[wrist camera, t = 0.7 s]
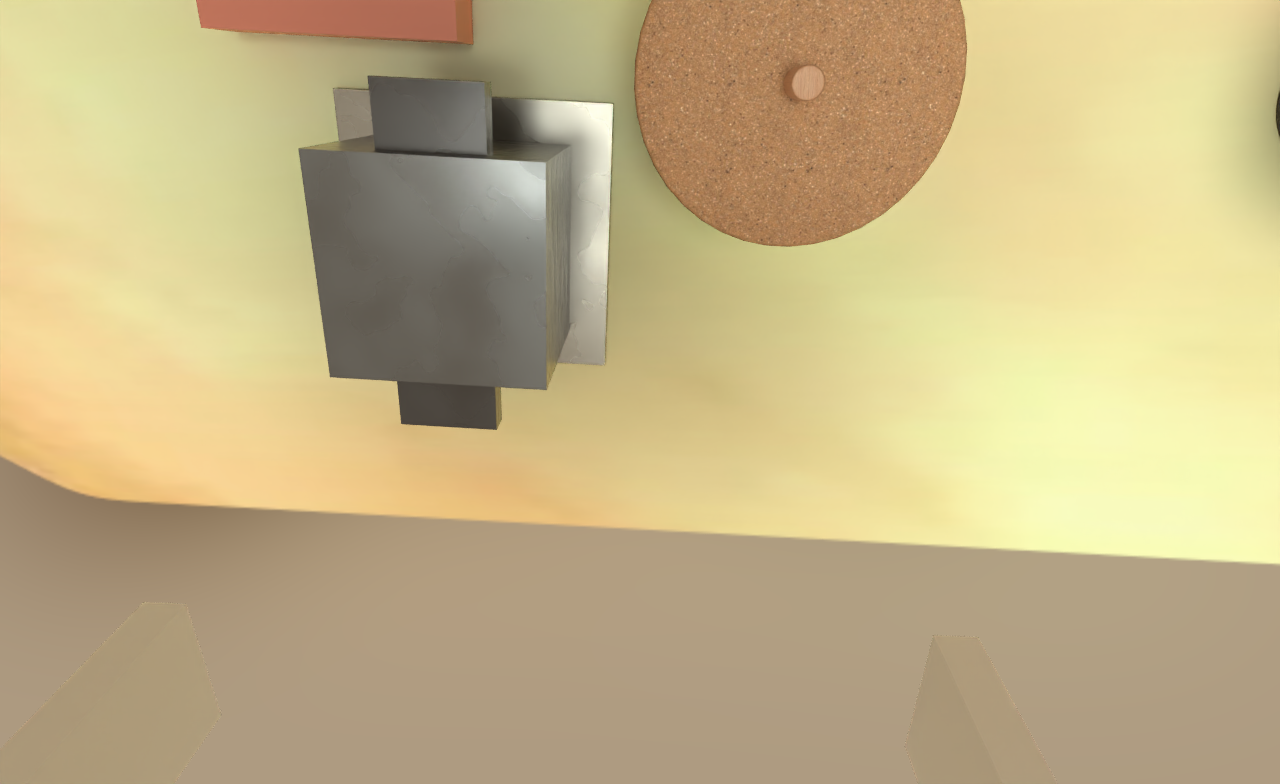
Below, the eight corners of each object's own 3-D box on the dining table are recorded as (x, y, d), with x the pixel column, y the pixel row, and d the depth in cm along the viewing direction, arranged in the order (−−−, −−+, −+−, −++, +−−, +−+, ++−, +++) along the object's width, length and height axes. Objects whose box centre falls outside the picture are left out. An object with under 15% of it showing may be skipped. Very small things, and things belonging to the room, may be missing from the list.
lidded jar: (645, 214, 32) (638, 262, 24) (636, -60, 28) (623, -122, 19) (882, 207, 32) (962, 253, 23) (910, -73, 28) (1021, -143, 19)
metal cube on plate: (335, 71, 30) (235, 68, 23) (614, 87, 30) (598, 88, 23) (368, 360, 36) (294, 428, 29) (604, 374, 36) (590, 446, 28)
